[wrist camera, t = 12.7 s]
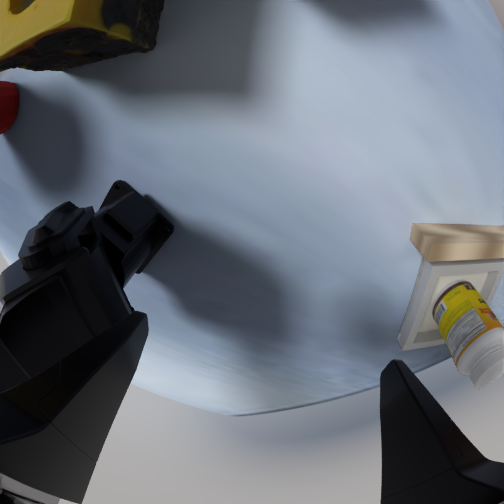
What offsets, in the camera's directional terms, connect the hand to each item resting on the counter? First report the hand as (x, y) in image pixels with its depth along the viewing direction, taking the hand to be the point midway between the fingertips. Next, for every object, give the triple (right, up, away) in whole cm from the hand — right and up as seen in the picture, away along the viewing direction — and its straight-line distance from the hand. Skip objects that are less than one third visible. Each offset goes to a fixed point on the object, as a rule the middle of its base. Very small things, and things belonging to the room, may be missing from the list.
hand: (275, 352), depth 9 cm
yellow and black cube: (-12, +23, +4) cm, 26 cm away
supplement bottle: (+20, -1, +13) cm, 24 cm away
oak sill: (+19, +5, +10) cm, 22 cm away
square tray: (+20, -1, +14) cm, 24 cm away
